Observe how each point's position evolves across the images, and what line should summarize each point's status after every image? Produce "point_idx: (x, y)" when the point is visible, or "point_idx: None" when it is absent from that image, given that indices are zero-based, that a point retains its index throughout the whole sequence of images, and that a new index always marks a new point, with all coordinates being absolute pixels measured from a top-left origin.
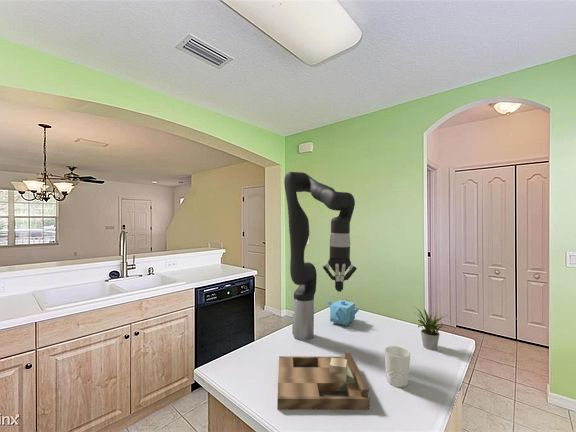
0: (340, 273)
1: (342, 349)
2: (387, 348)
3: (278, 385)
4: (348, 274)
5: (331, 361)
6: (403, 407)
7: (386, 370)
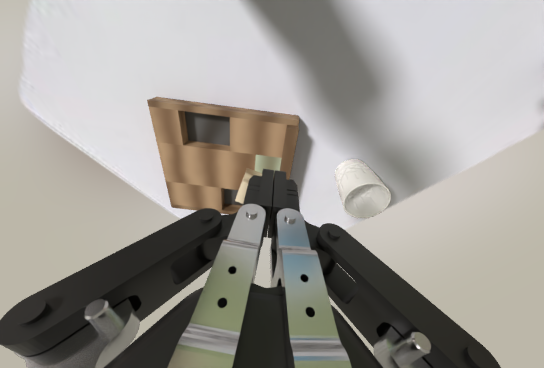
0: (274, 284)
1: (312, 33)
2: (359, 185)
3: (167, 186)
4: (338, 302)
5: (239, 192)
6: (320, 214)
7: (337, 180)
